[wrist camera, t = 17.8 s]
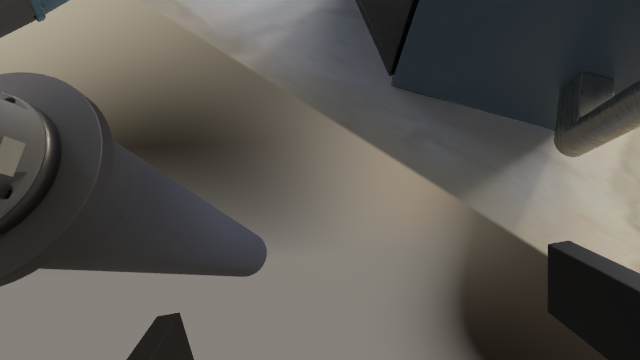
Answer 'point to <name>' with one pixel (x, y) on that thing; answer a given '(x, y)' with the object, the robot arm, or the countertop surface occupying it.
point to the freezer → (388, 27)
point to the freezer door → (532, 63)
